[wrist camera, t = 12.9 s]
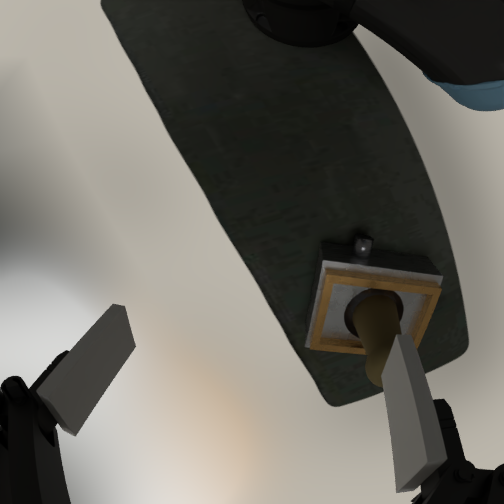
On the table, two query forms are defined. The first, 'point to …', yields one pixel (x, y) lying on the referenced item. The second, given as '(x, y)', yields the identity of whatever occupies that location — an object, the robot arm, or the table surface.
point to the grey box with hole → (367, 292)
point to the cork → (376, 332)
